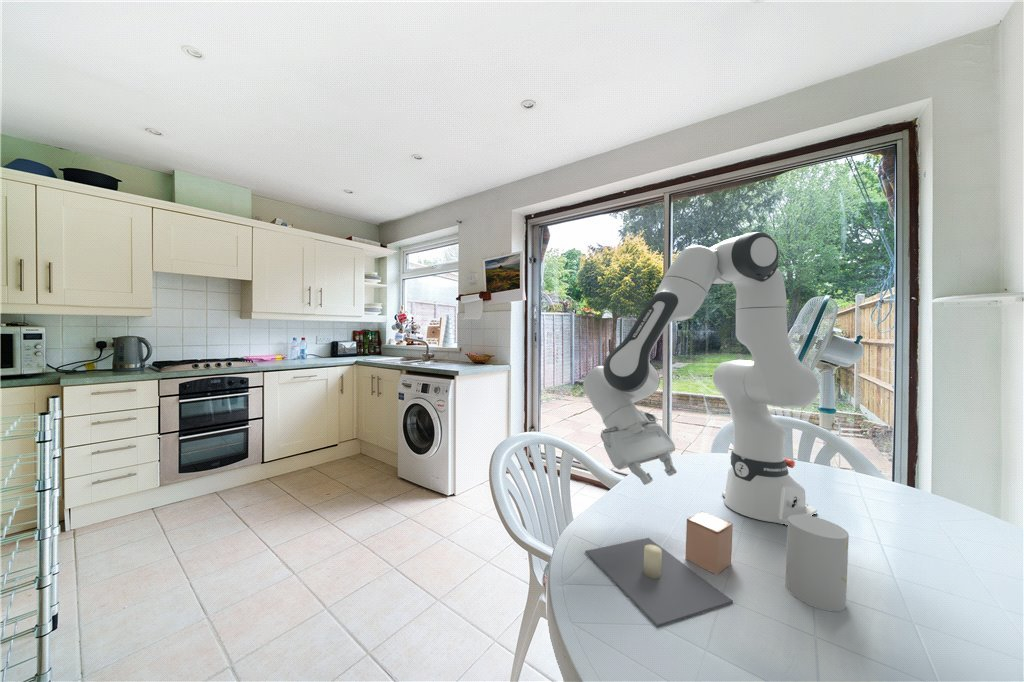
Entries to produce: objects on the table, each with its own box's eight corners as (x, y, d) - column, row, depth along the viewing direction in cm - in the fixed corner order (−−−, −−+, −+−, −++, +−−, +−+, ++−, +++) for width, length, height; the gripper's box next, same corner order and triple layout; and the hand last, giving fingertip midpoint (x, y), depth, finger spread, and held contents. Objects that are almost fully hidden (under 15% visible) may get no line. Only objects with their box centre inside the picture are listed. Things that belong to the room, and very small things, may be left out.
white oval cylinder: (858, 615, 59) (861, 541, 59) (801, 606, 60) (804, 534, 60) (826, 582, 67) (828, 517, 67) (776, 575, 68) (778, 512, 68)
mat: (648, 539, 79) (649, 517, 79) (733, 603, 61) (734, 573, 61) (585, 552, 74) (586, 528, 74) (657, 627, 55) (658, 595, 55)
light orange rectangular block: (700, 549, 76) (701, 511, 76) (731, 563, 71) (732, 523, 71) (685, 558, 73) (686, 518, 73) (716, 574, 68) (718, 532, 68)
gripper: (605, 422, 81) (642, 481, 73) (658, 413, 92) (695, 463, 85) (589, 437, 84) (623, 495, 76) (642, 427, 96) (676, 476, 88)
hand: (661, 478), depth 81 cm, fingers open, 8 cm apart
